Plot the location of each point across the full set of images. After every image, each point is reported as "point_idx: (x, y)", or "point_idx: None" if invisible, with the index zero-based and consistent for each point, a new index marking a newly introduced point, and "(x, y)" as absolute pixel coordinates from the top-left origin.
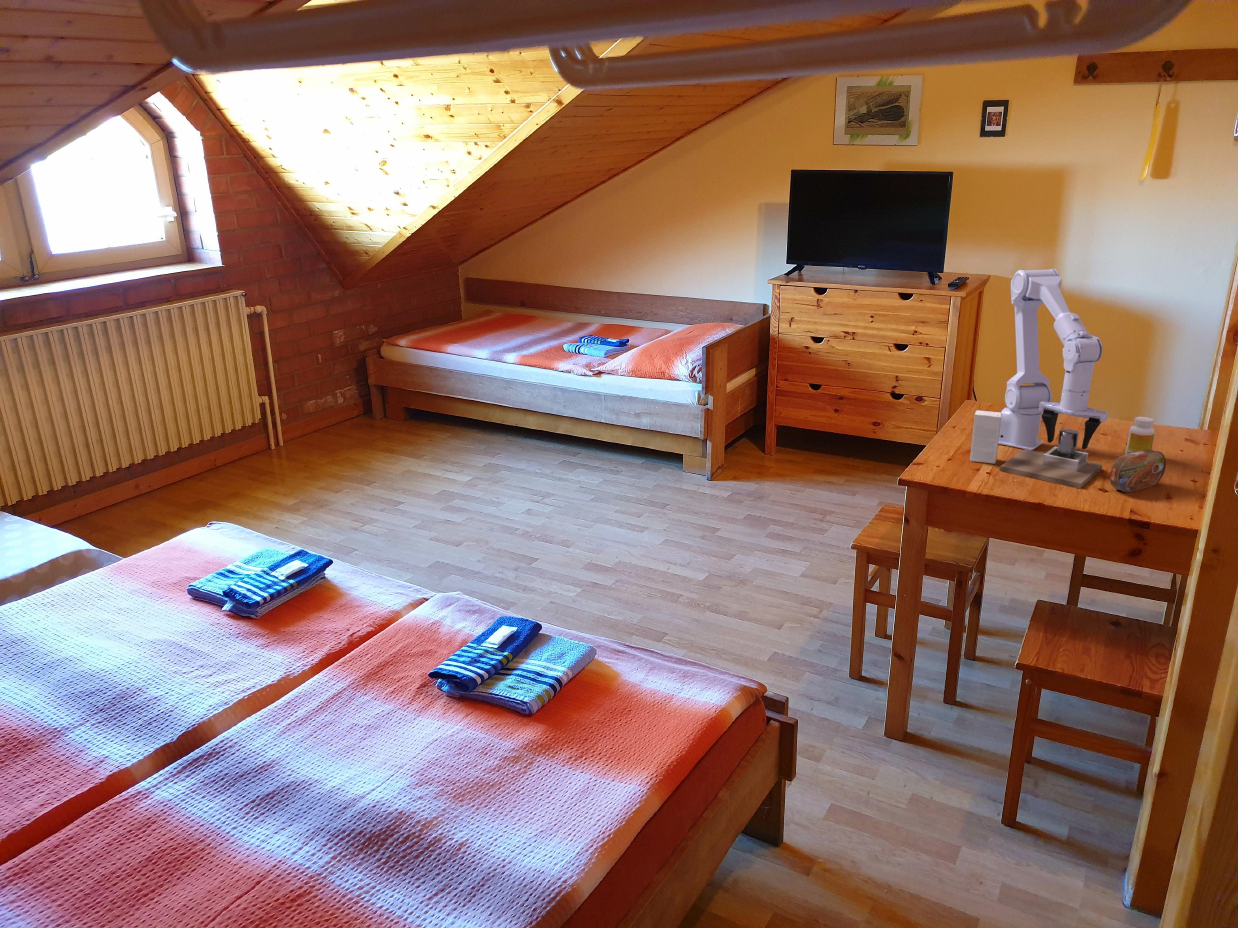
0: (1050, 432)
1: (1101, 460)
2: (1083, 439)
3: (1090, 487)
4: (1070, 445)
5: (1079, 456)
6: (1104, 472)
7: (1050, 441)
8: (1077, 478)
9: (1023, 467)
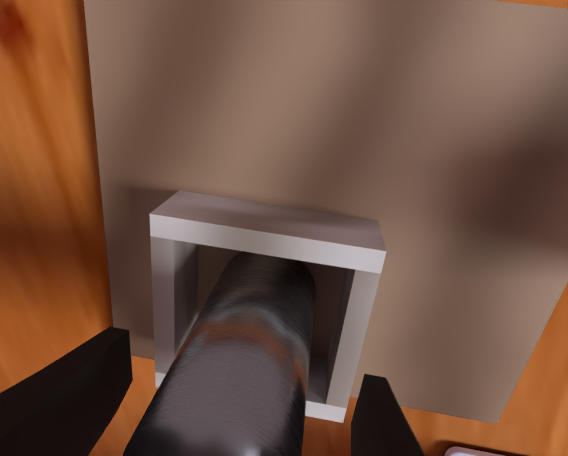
0: (387, 452)
1: None
2: (66, 380)
3: (67, 30)
4: (199, 337)
5: None
6: (105, 305)
7: (366, 380)
8: (132, 57)
9: (499, 91)
